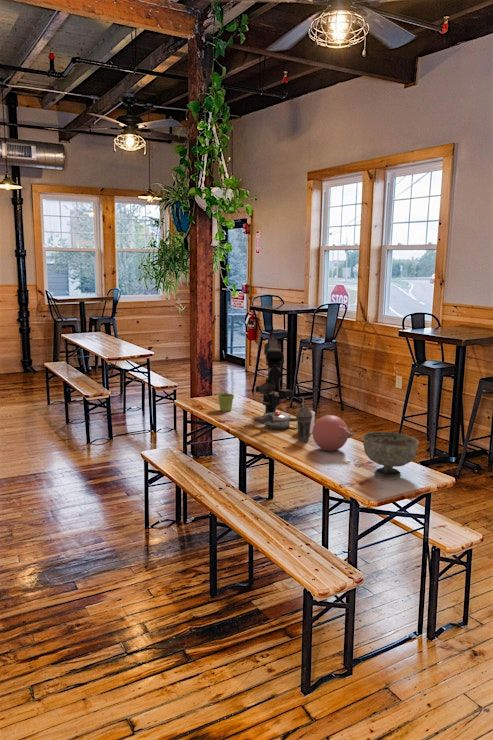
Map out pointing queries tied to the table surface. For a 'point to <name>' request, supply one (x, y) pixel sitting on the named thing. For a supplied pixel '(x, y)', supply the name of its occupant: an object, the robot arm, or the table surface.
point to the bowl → (389, 452)
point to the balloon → (331, 433)
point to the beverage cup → (304, 423)
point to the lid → (274, 417)
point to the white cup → (312, 422)
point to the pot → (278, 424)
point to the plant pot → (225, 402)
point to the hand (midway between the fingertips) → (273, 408)
